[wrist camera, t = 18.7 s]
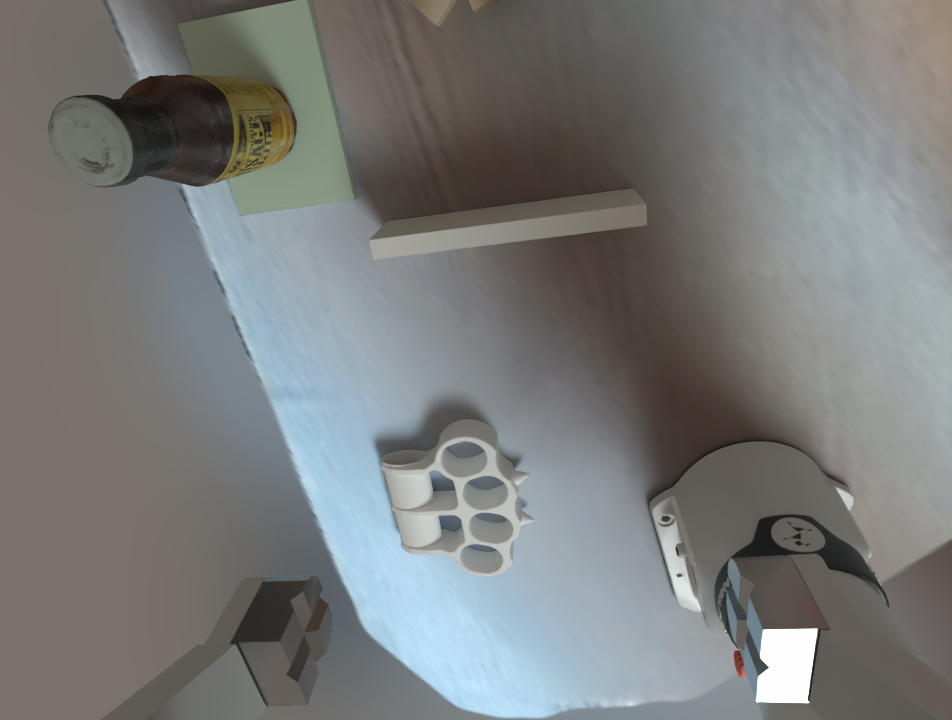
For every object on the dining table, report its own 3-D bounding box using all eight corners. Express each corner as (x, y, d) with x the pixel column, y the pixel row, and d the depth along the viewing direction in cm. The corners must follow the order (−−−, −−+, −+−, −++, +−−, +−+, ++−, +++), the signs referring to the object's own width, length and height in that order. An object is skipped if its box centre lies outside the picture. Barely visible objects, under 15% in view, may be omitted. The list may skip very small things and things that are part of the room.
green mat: (358, 197, 47) (354, 199, 47) (245, 213, 49) (239, 215, 48) (311, -1, 41) (306, -2, 41) (184, 24, 43) (177, 23, 42)
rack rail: (633, 207, 46) (647, 225, 41) (391, 238, 49) (373, 259, 43) (633, 188, 45) (646, 204, 40) (387, 221, 48) (368, 240, 43)
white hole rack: (378, 422, 58) (524, 412, 56) (411, 556, 66) (540, 552, 64) (370, 442, 55) (524, 432, 53) (405, 579, 63) (541, 575, 61)
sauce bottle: (274, 180, 46) (116, 249, 29) (208, 124, 45) (-2, 160, 27) (320, 115, 44) (176, 146, 26) (251, 53, 42) (50, 42, 25)
